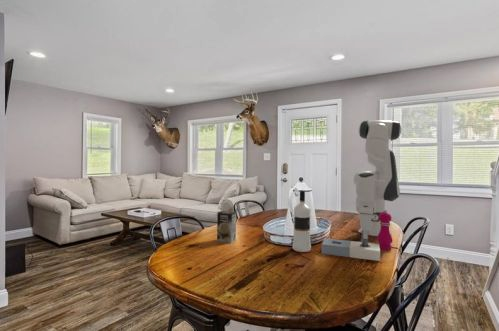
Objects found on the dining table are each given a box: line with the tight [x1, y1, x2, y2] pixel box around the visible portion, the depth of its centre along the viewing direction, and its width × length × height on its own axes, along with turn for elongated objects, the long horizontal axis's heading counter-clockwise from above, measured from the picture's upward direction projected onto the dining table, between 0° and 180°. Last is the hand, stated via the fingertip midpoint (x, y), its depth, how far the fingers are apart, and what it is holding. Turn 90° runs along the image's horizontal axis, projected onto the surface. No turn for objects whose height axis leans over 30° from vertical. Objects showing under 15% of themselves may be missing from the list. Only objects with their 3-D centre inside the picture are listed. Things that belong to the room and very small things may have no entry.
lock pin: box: [361, 230, 369, 247], centre depth 137 cm, size 3×3×14 cm
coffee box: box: [216, 210, 237, 244], centre depth 159 cm, size 9×6×16 cm
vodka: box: [292, 190, 312, 253], centre depth 144 cm, size 9×9×30 cm
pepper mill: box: [376, 209, 393, 251], centre depth 148 cm, size 7×7×20 cm
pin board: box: [321, 237, 381, 262], centre depth 139 cm, size 12×26×4 cm, turn 68°
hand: (365, 236), depth 136 cm, fingers open, 8 cm apart
